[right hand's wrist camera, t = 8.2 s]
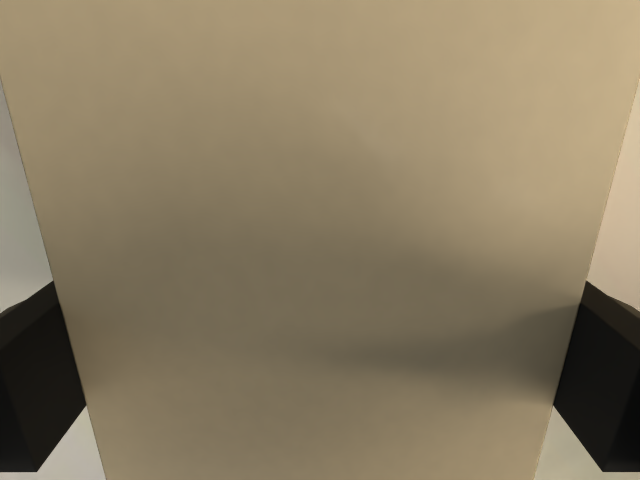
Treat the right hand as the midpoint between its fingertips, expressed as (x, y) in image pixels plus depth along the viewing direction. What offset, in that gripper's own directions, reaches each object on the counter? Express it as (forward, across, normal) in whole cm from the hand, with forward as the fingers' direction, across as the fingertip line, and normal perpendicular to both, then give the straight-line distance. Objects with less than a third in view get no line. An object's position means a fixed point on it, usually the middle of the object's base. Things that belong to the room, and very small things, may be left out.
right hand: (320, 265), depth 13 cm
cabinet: (+4, 0, -7) cm, 8 cm away
